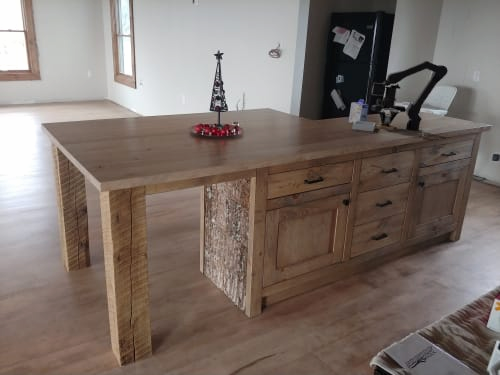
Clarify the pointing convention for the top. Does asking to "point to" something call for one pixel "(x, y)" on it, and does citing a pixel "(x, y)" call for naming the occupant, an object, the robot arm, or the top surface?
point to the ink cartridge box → (358, 111)
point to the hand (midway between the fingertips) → (386, 123)
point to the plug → (387, 120)
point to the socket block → (379, 125)
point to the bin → (363, 126)
